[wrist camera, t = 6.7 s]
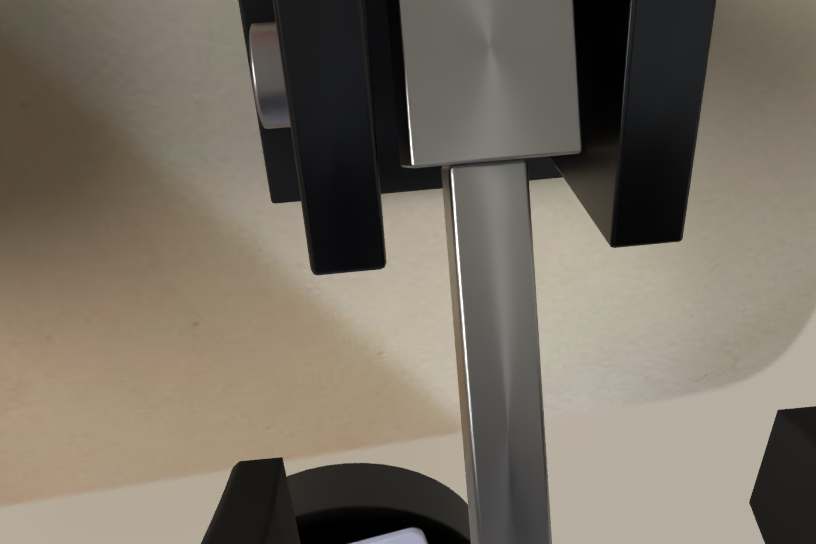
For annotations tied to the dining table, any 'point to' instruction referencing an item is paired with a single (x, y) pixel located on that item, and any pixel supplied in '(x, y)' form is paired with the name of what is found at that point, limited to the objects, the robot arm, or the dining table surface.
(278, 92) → the bracket
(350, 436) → the dining table surface
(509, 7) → the lever
